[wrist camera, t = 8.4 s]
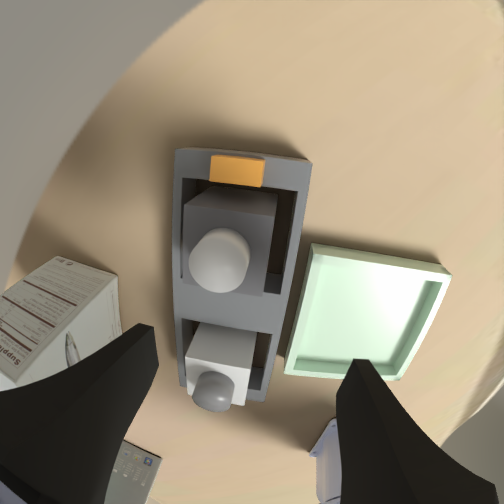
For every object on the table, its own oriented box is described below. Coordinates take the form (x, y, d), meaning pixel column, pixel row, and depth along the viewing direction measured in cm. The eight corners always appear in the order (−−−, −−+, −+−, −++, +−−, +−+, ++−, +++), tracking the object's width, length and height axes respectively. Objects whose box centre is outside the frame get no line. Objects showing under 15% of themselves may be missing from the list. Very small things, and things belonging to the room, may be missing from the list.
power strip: (266, 380, 22) (262, 413, 19) (188, 365, 23) (175, 396, 20) (308, 159, 15) (314, 165, 12) (190, 146, 16) (165, 150, 12)
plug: (269, 255, 18) (259, 315, 12) (208, 246, 18) (171, 299, 12) (278, 194, 16) (272, 227, 10) (212, 185, 17) (171, 213, 11)
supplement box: (126, 341, 23) (58, 446, 11) (67, 316, 23) (-7, 397, 12) (121, 273, 20) (15, 386, 8) (56, 251, 20) (-46, 329, 9)
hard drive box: (121, 437, 33) (78, 530, 15) (164, 457, 34) (130, 553, 16) (115, 457, 40) (84, 528, 21) (148, 473, 40) (122, 545, 22)
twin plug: (252, 357, 22) (241, 422, 16) (204, 349, 22) (181, 410, 16) (259, 320, 20) (247, 388, 14) (205, 310, 20) (177, 373, 14)
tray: (394, 366, 21) (399, 380, 19) (284, 358, 21) (283, 373, 20) (441, 264, 17) (452, 275, 15) (311, 242, 17) (313, 253, 16)
